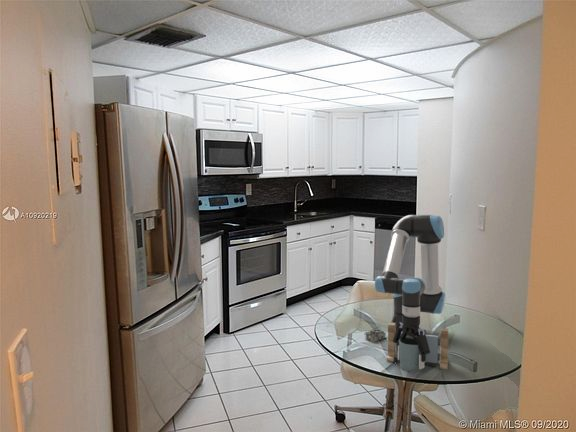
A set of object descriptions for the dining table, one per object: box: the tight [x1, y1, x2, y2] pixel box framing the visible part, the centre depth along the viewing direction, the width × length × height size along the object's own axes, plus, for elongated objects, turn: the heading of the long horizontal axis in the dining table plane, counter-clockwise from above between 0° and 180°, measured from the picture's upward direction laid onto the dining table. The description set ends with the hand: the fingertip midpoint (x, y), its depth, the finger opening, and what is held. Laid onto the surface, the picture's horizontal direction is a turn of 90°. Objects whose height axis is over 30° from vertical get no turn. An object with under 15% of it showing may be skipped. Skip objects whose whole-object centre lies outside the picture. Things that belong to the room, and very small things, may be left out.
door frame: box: [386, 321, 449, 370], centre depth 199 cm, size 10×26×16 cm, turn 68°
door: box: [395, 332, 441, 364], centre depth 200 cm, size 3×19×12 cm, turn 68°
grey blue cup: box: [399, 337, 421, 372], centre depth 192 cm, size 10×10×12 cm
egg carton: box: [364, 327, 387, 343], centre depth 229 cm, size 11×8×4 cm
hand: (410, 363), depth 193 cm, fingers open, 11 cm apart
